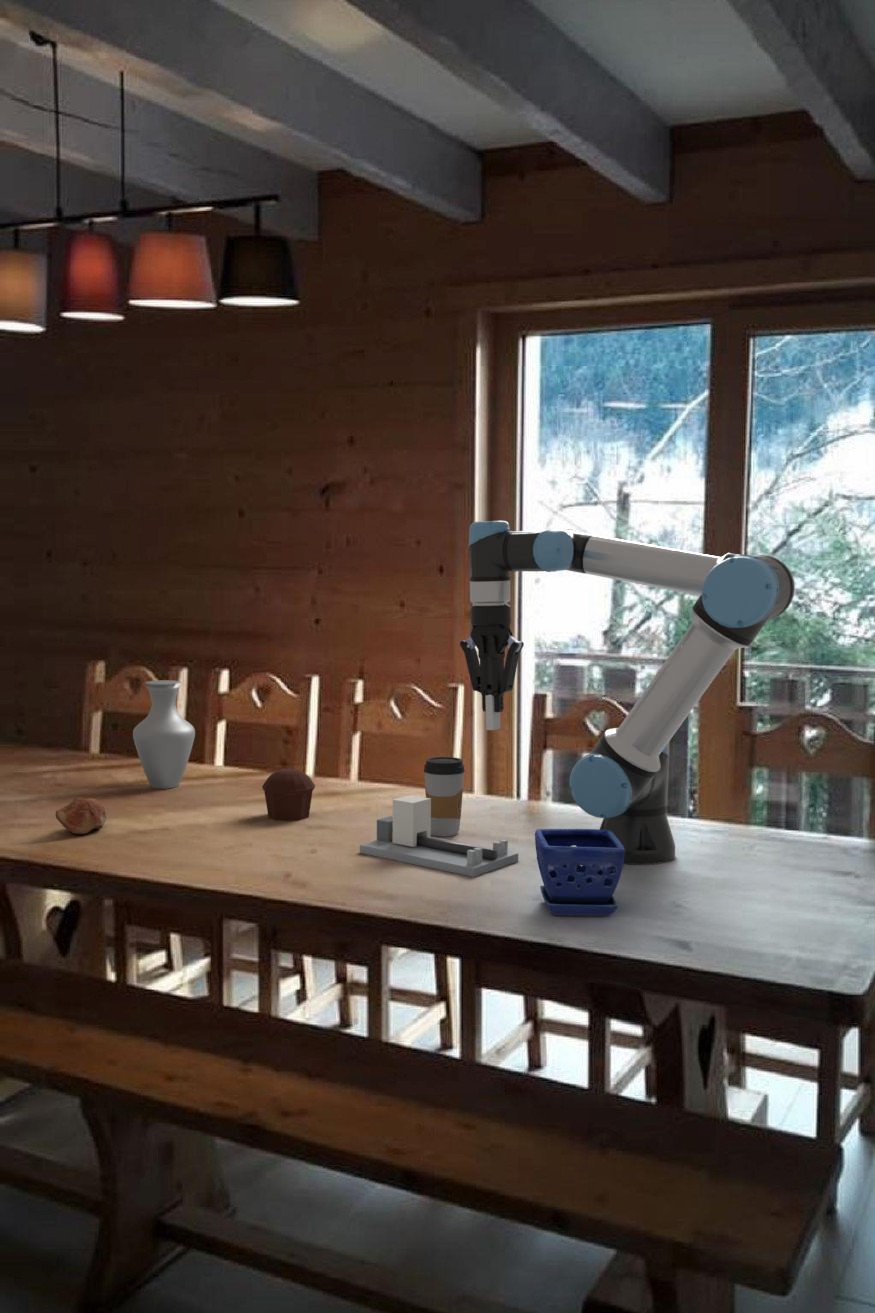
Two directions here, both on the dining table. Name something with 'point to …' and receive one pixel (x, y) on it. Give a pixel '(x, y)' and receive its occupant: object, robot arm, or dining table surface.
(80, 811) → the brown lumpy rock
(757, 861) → the dining table surface
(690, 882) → the dining table surface
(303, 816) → the muffin
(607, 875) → the flower pot
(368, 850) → the sliding block rail
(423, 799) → the cream rail slider block
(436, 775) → the coffee cup
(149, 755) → the vase
